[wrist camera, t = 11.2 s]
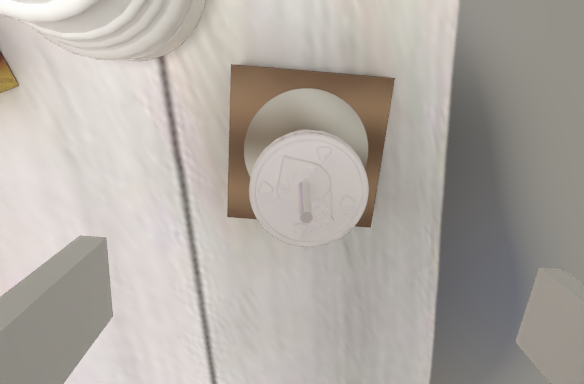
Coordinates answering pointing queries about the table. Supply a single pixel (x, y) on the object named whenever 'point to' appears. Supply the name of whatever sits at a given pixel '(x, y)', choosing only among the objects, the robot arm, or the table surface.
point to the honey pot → (110, 25)
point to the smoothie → (308, 188)
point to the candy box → (6, 76)
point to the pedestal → (303, 121)
